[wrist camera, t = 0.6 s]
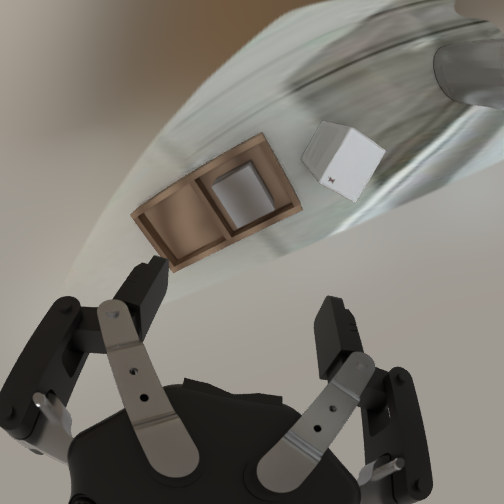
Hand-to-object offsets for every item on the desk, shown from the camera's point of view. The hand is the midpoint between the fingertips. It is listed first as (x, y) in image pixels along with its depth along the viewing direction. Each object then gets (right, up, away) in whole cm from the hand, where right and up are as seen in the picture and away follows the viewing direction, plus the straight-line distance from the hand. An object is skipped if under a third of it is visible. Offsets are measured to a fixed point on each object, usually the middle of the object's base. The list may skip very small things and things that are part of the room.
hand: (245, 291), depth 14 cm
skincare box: (+10, +15, +19) cm, 27 cm away
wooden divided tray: (-5, +9, +24) cm, 26 cm away
